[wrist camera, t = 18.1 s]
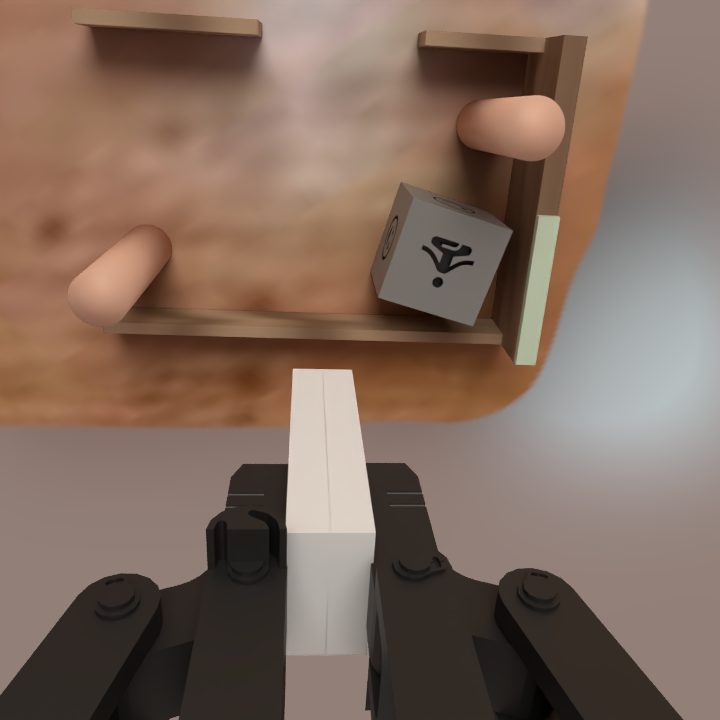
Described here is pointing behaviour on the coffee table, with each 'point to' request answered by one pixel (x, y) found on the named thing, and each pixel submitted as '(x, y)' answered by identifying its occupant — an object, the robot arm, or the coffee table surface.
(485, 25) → the coffee table surface
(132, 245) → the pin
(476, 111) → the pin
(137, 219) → the coffee table surface
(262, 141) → the coffee table surface
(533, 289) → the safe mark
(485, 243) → the dice cube
